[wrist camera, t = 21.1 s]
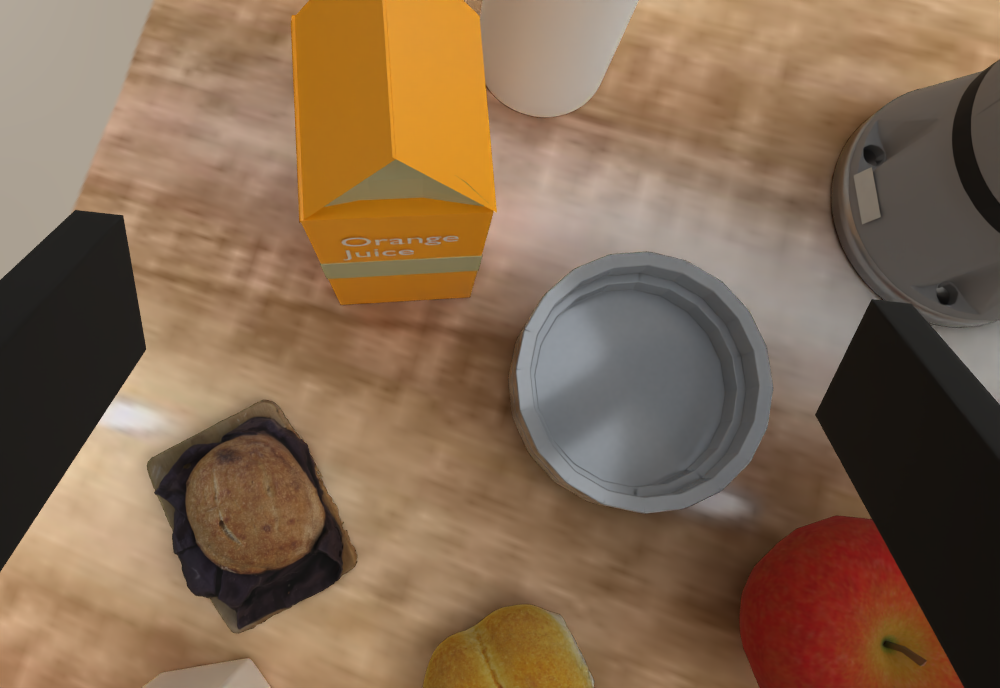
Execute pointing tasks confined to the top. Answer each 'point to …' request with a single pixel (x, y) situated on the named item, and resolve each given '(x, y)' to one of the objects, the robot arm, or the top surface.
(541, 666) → the bread roll
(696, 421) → the pan
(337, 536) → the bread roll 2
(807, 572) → the apple
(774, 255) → the top surface
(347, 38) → the orange juice
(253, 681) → the jar
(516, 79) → the cup
